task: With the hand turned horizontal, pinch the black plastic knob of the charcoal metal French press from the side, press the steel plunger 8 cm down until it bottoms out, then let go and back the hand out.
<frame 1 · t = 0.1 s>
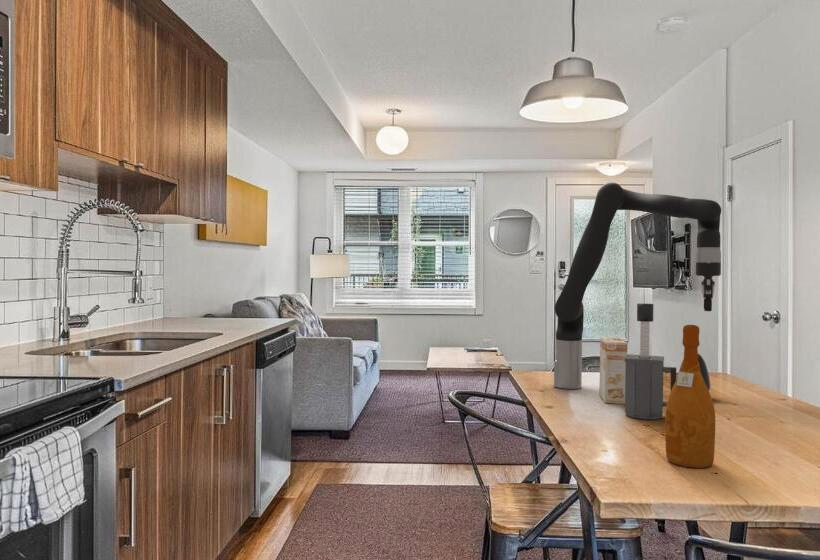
hand: (707, 310, 199), 29 cm above the table, tool pointing down, fingers open, 8 cm apart
wine bottle: (689, 463, 131), on the table
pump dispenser: (693, 398, 201), on the table
press body: (643, 416, 174), on the table
plunger: (644, 343, 174), point 21 cm above the table, slide at 8.0 cm
coffeecake box: (612, 399, 198), on the table
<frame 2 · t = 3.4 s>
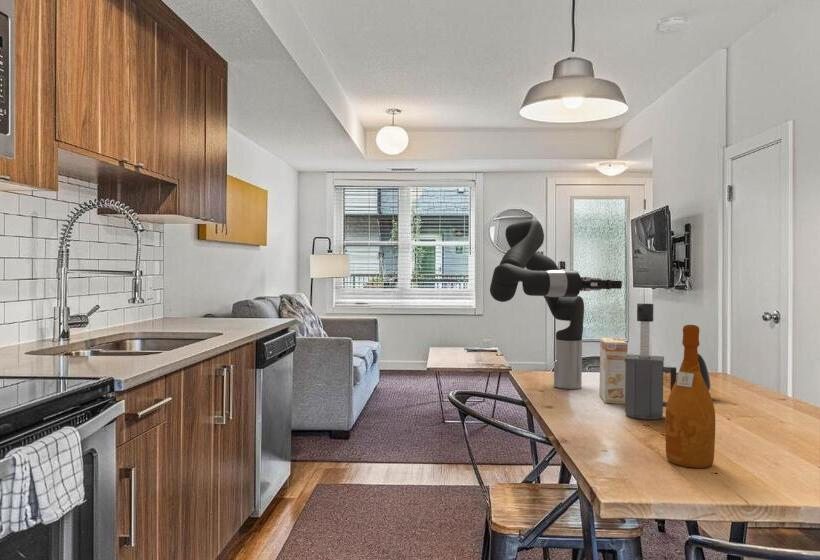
hand: (613, 284, 172), 38 cm above the table, tool horizontal, fingers open, 8 cm apart
nothing on the table moved.
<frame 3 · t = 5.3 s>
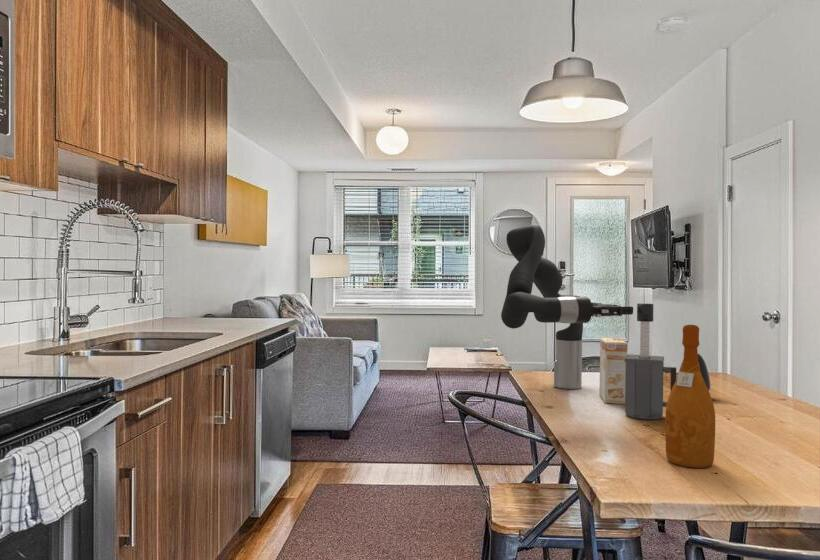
hand: (624, 309, 173), 31 cm above the table, tool horizontal, fingers open, 8 cm apart
nothing on the table moved.
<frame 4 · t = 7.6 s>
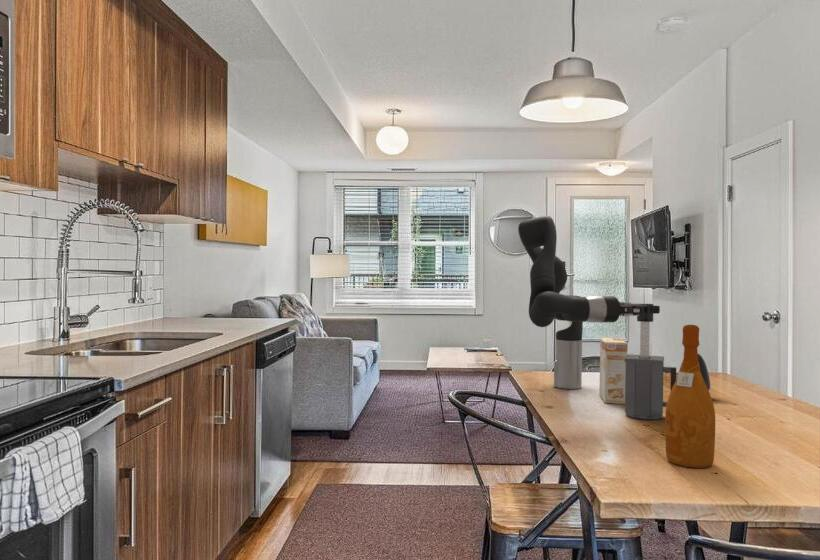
hand: (653, 309, 174), 31 cm above the table, tool horizontal, fingers closed on plunger, 4 cm apart
plunger: (644, 343, 174), point 21 cm above the table, slide at 8.0 cm, touching gripper
everything else where it was.
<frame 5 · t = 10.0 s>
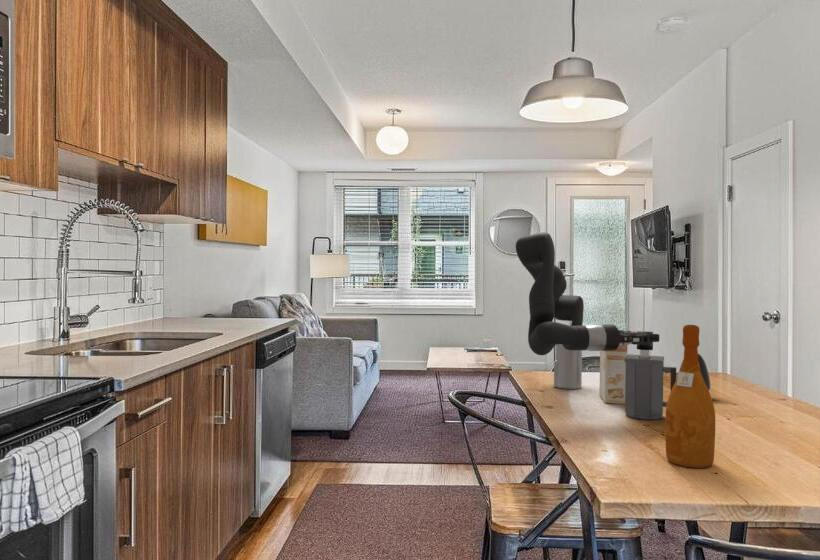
hand: (653, 336, 174), 23 cm above the table, tool horizontal, fingers closed on plunger, 4 cm apart
plunger: (644, 371, 174), point 13 cm above the table, slide at -0.1 cm, touching gripper
everything else where it was.
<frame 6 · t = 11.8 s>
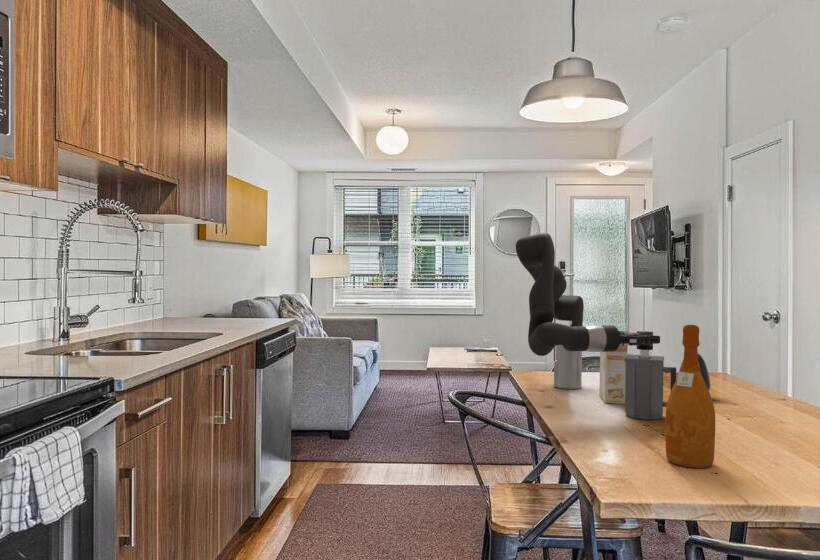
hand: (650, 337, 174), 23 cm above the table, tool horizontal, fingers open, 8 cm apart
plunger: (644, 371, 174), point 13 cm above the table, slide at -0.1 cm
everything else where it was.
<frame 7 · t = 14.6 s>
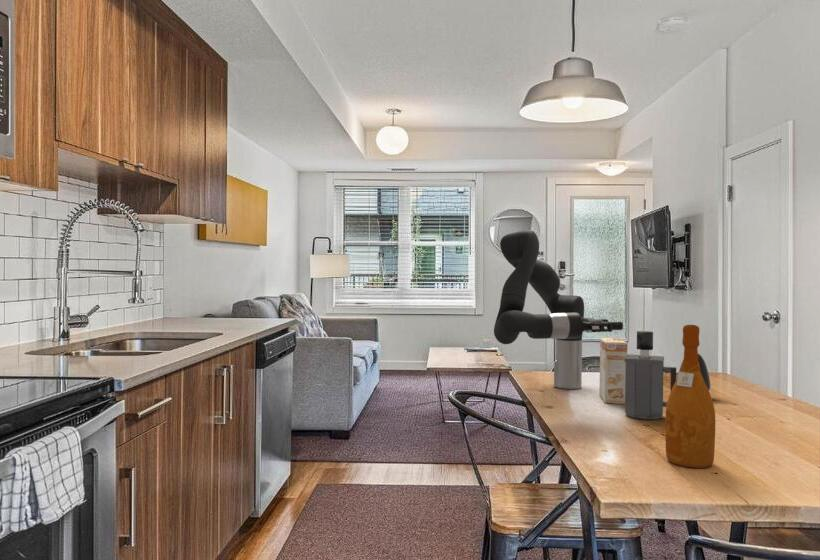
hand: (614, 324, 177), 26 cm above the table, tool horizontal, fingers open, 8 cm apart
nothing on the table moved.
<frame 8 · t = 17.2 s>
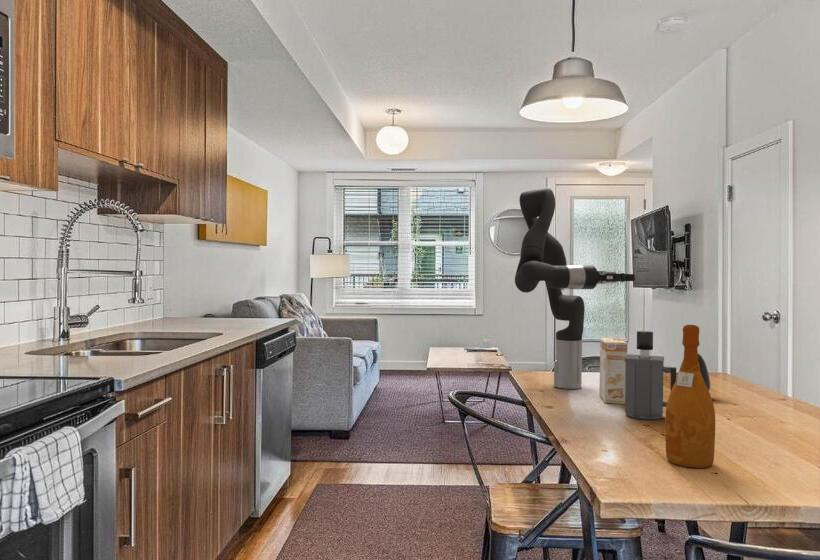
hand: (626, 277, 190), 40 cm above the table, tool horizontal, fingers open, 8 cm apart
nothing on the table moved.
at the end: plunger slide at -0.1 cm; the gripper is holding nothing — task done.
